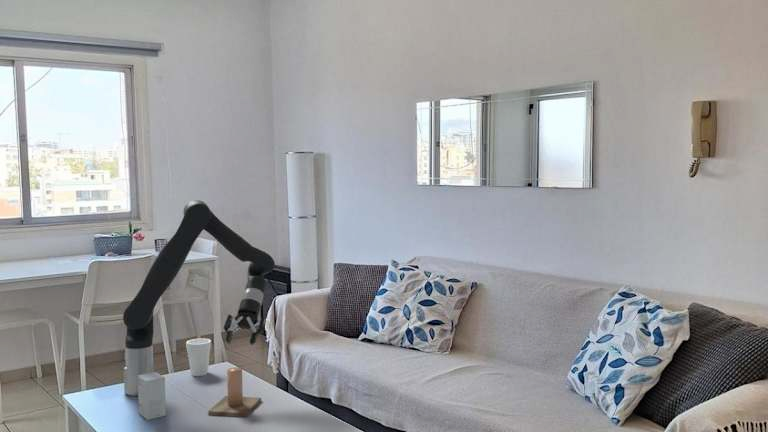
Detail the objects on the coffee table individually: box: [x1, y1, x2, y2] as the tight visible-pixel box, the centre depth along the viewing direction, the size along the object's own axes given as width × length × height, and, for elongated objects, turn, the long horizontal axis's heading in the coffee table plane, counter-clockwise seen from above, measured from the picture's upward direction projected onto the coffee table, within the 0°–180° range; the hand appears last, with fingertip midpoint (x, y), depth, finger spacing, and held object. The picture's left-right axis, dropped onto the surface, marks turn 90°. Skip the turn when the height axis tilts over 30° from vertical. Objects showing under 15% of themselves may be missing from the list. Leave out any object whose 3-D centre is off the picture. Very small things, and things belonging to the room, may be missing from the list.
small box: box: [137, 371, 167, 420], centre depth 221 cm, size 8×6×13 cm
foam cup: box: [185, 337, 212, 377], centre depth 265 cm, size 10×9×13 cm
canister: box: [226, 366, 244, 407], centre depth 227 cm, size 5×5×12 cm
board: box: [207, 395, 262, 418], centre depth 228 cm, size 13×15×1 cm
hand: (239, 343), depth 234 cm, fingers open, 8 cm apart
